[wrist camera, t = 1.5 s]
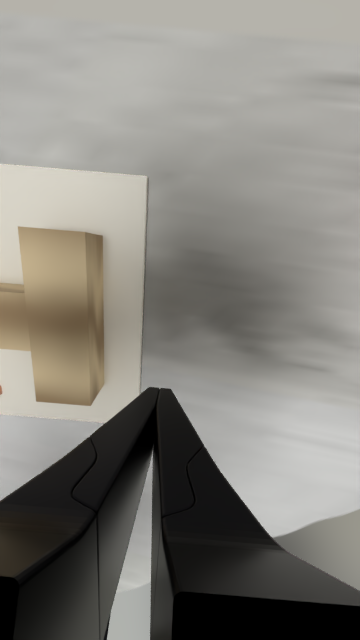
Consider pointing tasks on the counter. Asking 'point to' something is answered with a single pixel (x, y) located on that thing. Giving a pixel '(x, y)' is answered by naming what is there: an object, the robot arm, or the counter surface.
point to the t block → (58, 313)
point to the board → (118, 275)
